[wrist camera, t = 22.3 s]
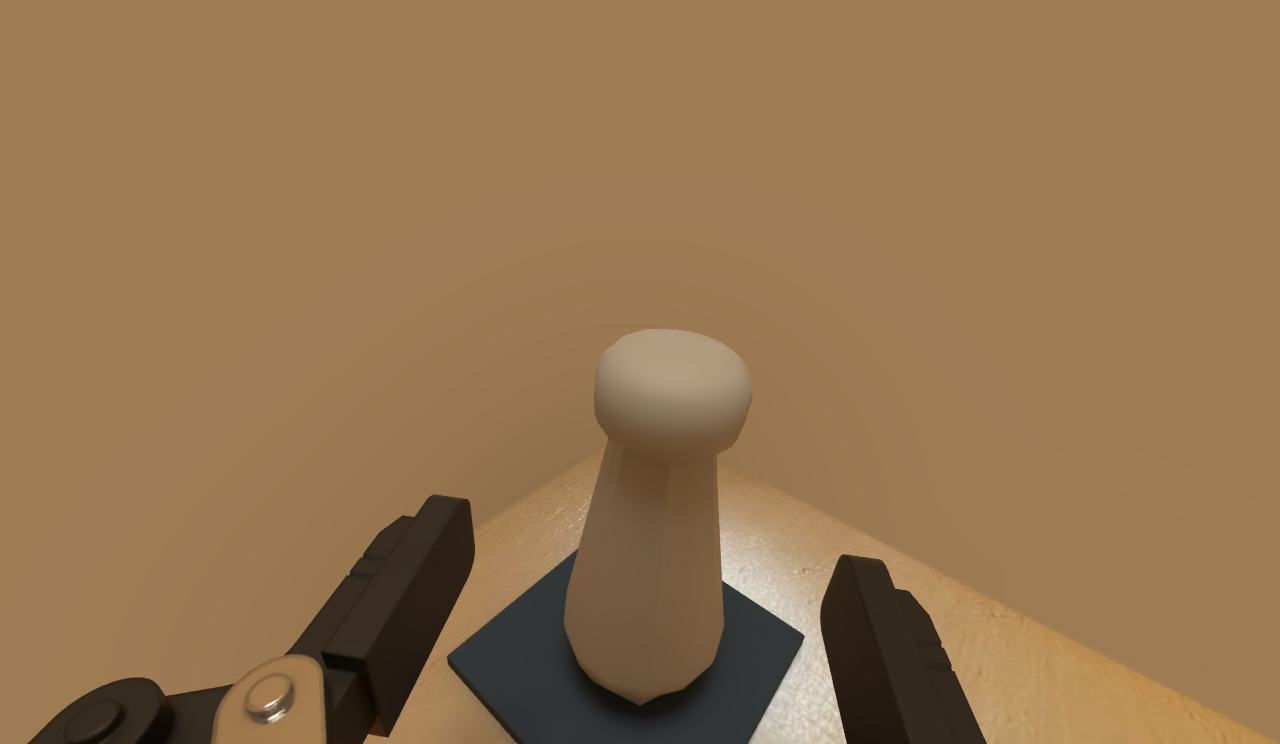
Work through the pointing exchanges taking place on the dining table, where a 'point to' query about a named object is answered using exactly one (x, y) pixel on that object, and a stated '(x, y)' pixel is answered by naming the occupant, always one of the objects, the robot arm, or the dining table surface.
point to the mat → (598, 718)
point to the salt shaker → (656, 513)
